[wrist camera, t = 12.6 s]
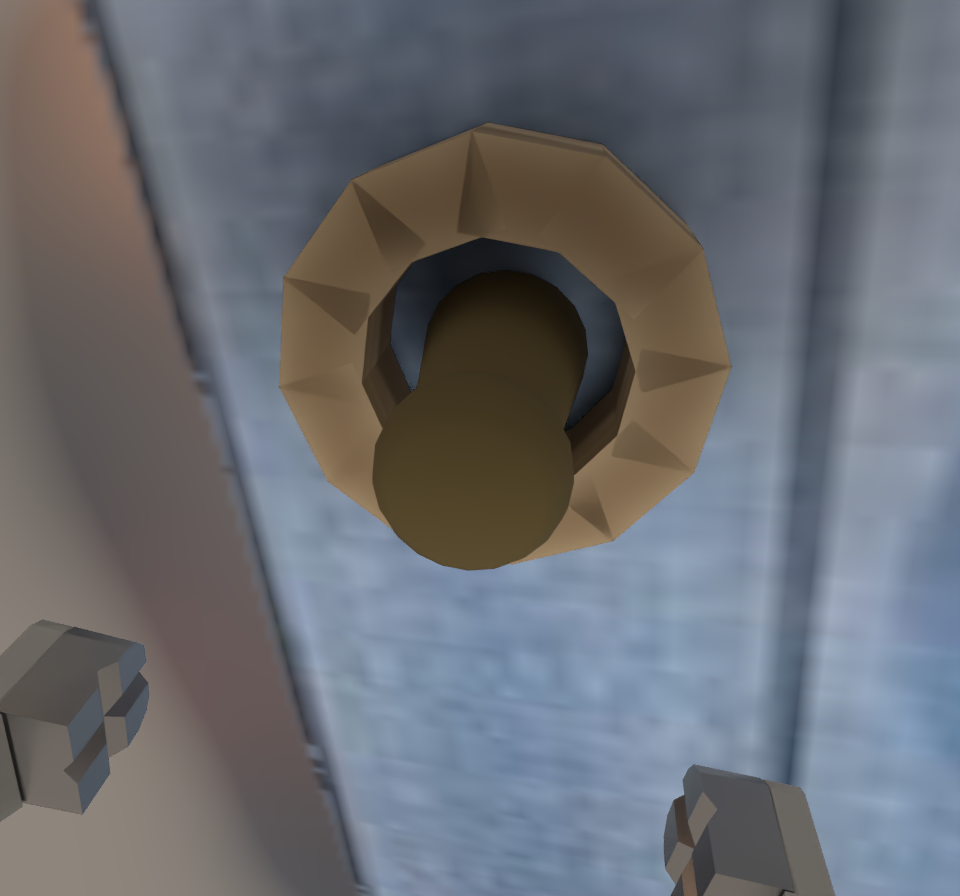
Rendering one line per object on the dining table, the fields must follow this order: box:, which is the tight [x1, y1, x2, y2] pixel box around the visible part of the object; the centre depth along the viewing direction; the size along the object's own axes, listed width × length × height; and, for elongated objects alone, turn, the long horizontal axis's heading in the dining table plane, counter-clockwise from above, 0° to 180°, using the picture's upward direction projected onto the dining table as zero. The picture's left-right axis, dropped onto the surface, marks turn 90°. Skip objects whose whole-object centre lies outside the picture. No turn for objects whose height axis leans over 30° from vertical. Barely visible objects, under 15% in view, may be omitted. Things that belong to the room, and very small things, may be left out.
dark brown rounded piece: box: [372, 270, 588, 570], centre depth 22 cm, size 6×6×11 cm
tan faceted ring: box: [279, 122, 732, 564], centre depth 25 cm, size 14×14×4 cm
